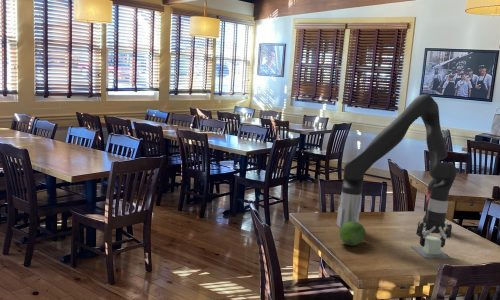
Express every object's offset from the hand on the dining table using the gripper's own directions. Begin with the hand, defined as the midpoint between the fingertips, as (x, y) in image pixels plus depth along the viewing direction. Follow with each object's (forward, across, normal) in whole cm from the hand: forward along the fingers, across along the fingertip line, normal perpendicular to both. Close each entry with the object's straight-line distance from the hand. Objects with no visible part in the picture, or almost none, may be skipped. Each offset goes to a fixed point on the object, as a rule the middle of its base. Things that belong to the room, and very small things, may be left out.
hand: (431, 246), depth 203 cm
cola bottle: (+3, +18, +35) cm, 39 cm away
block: (+3, 0, 0) cm, 3 cm away
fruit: (+3, -32, +8) cm, 33 cm away
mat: (+3, 0, 0) cm, 3 cm away
